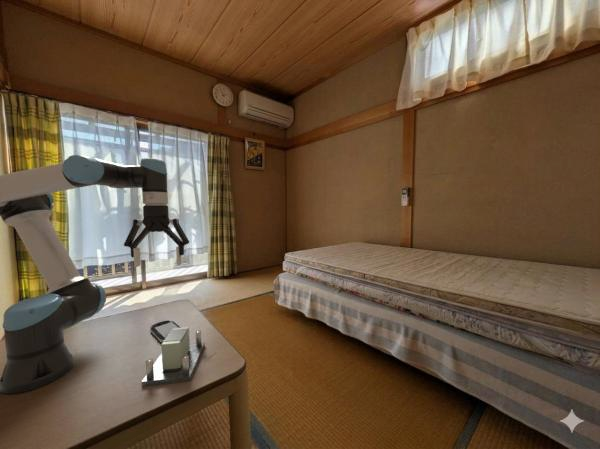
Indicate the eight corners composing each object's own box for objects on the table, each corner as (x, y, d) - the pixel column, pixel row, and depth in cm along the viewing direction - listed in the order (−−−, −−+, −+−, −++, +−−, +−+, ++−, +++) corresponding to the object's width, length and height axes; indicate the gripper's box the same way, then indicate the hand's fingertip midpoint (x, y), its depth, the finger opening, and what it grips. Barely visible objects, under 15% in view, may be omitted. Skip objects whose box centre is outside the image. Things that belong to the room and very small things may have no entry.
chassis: (141, 386, 67) (140, 364, 67) (166, 349, 85) (165, 332, 85) (190, 381, 69) (189, 359, 69) (204, 346, 87) (204, 329, 87)
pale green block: (162, 370, 72) (161, 344, 71) (174, 350, 82) (173, 327, 81) (180, 368, 73) (179, 342, 72) (190, 349, 82) (189, 326, 82)
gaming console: (147, 330, 100) (147, 325, 99) (170, 323, 106) (170, 317, 106) (164, 348, 86) (163, 342, 86) (189, 338, 93) (188, 332, 93)
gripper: (108, 205, 76) (112, 269, 78) (190, 204, 80) (193, 266, 82) (122, 205, 84) (125, 264, 85) (196, 204, 88) (198, 261, 89)
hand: (158, 265), depth 83 cm, fingers open, 13 cm apart
